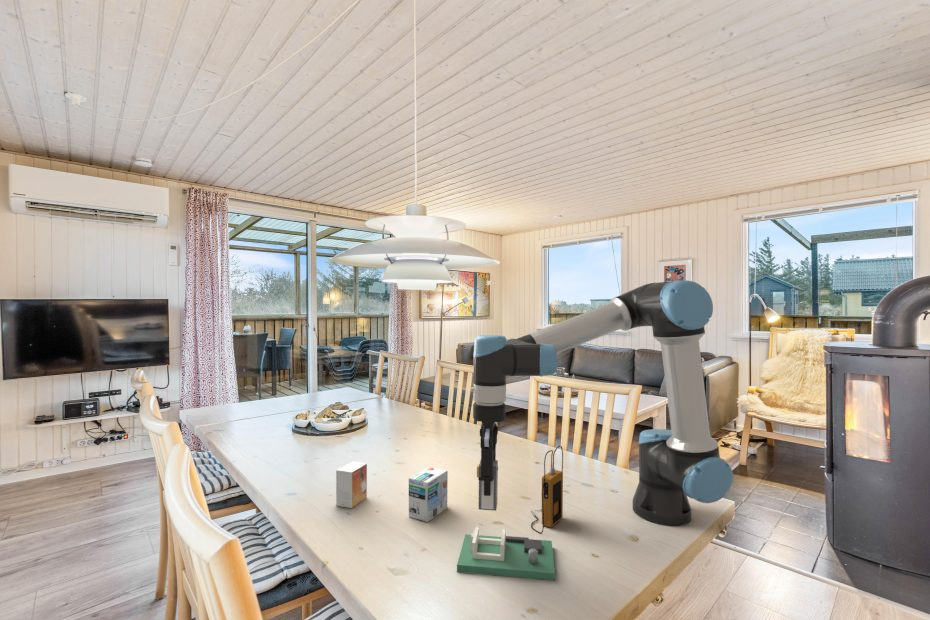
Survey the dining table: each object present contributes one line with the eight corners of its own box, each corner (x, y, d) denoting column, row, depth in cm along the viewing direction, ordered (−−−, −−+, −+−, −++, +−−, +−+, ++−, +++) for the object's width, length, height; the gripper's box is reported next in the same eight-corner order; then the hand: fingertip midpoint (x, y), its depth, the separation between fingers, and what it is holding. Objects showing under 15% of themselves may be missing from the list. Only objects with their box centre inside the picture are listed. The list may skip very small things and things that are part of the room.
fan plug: (497, 502, 102) (497, 460, 102) (496, 510, 98) (496, 466, 98) (477, 501, 103) (478, 459, 103) (475, 509, 99) (476, 465, 99)
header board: (551, 547, 105) (551, 526, 105) (554, 580, 92) (554, 556, 92) (465, 540, 108) (465, 520, 108) (456, 571, 95) (456, 548, 95)
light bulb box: (427, 523, 117) (427, 482, 117) (407, 517, 120) (407, 478, 120) (448, 507, 126) (448, 470, 126) (429, 502, 130) (429, 465, 130)
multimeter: (537, 503, 128) (537, 436, 128) (568, 513, 122) (569, 442, 122) (510, 523, 117) (510, 448, 117) (544, 535, 111) (544, 456, 111)
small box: (351, 509, 125) (351, 472, 125) (335, 506, 127) (335, 469, 127) (367, 497, 132) (367, 463, 132) (351, 495, 134) (351, 460, 134)
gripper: (477, 394, 110) (476, 487, 110) (468, 410, 93) (467, 519, 93) (507, 395, 109) (506, 489, 109) (503, 411, 92) (502, 522, 92)
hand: (488, 503), depth 101 cm, fingers closed on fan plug, 4 cm apart
